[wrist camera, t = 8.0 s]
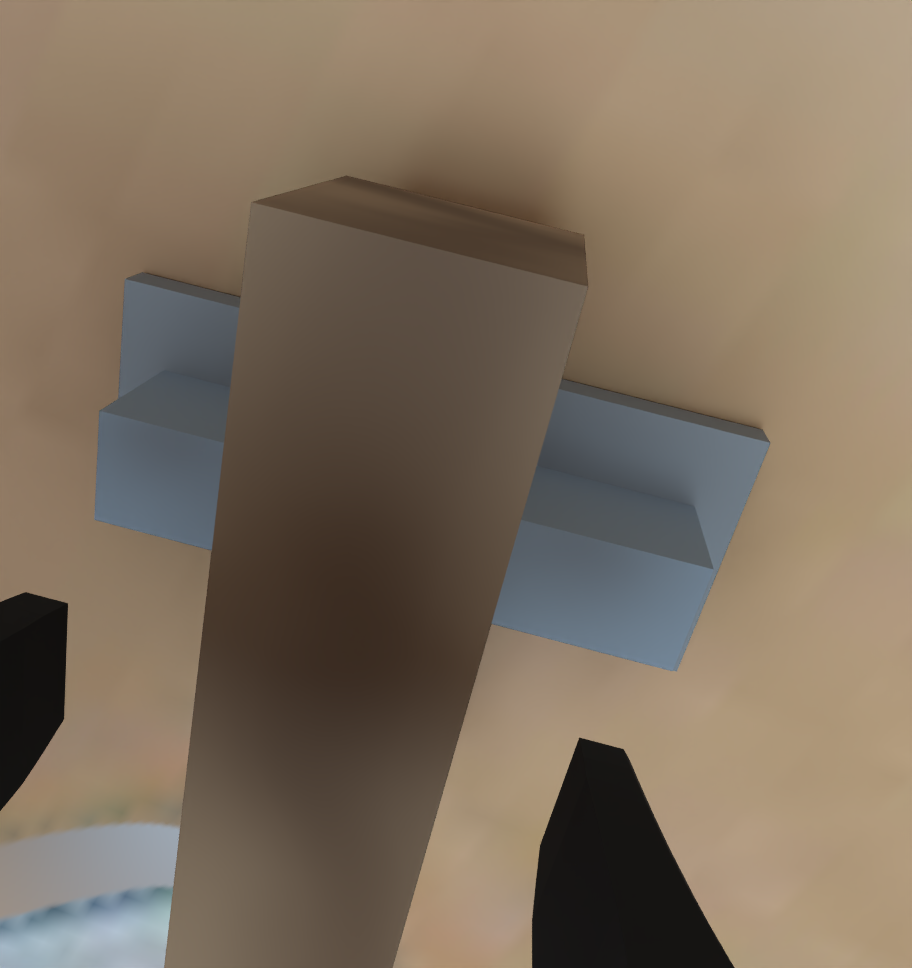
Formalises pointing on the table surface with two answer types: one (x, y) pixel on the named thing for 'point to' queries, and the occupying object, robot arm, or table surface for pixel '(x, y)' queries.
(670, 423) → the fulcrum
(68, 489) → the table surface
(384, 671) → the walnut bar
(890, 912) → the table surface
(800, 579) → the table surface
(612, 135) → the table surface
